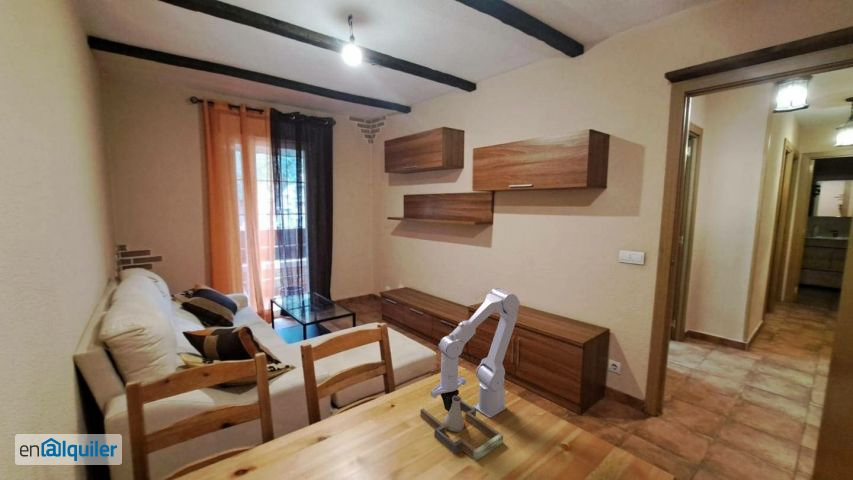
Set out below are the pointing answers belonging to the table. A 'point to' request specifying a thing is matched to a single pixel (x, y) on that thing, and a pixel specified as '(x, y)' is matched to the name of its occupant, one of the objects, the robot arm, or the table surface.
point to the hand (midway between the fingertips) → (448, 409)
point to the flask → (454, 416)
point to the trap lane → (461, 443)
